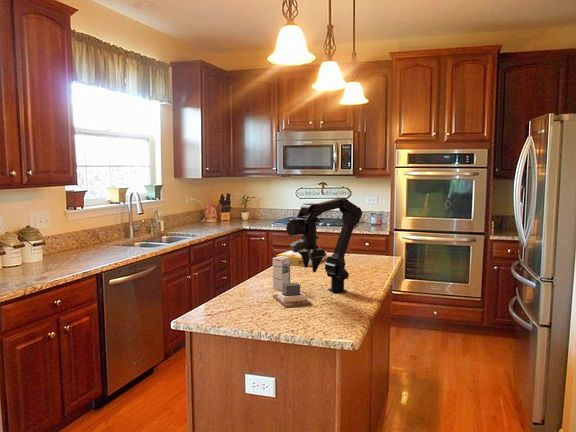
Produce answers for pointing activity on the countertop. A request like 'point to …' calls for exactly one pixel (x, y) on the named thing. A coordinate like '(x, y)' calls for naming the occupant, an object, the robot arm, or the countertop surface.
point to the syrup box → (281, 272)
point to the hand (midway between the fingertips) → (310, 269)
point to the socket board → (292, 300)
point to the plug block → (291, 289)
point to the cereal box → (297, 258)
